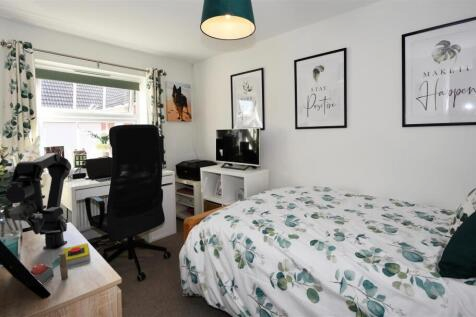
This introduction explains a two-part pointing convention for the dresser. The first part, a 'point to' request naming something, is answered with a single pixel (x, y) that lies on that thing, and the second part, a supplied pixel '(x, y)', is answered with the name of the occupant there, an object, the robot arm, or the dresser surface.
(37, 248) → the dresser surface
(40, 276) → the popper housing
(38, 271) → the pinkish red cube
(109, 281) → the dresser surface
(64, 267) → the finish flag
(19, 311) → the dresser surface
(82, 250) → the emergency button
